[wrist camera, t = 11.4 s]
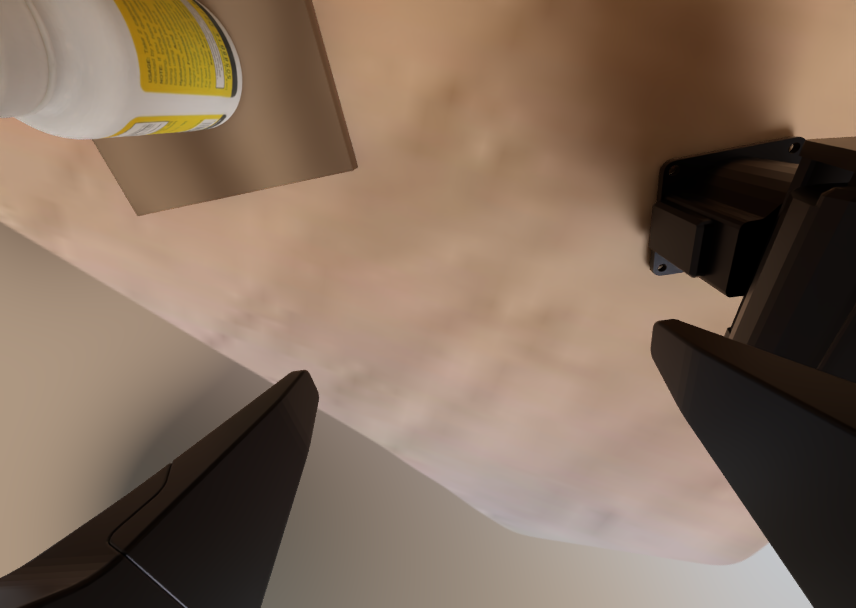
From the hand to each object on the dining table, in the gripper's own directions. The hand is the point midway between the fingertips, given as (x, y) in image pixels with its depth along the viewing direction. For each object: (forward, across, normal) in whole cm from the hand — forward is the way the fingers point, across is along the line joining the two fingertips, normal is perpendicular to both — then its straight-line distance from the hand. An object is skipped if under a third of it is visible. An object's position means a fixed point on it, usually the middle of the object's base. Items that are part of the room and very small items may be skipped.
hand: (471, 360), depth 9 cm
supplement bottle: (+12, +11, -10) cm, 19 cm away
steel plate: (+13, +11, -9) cm, 20 cm away
